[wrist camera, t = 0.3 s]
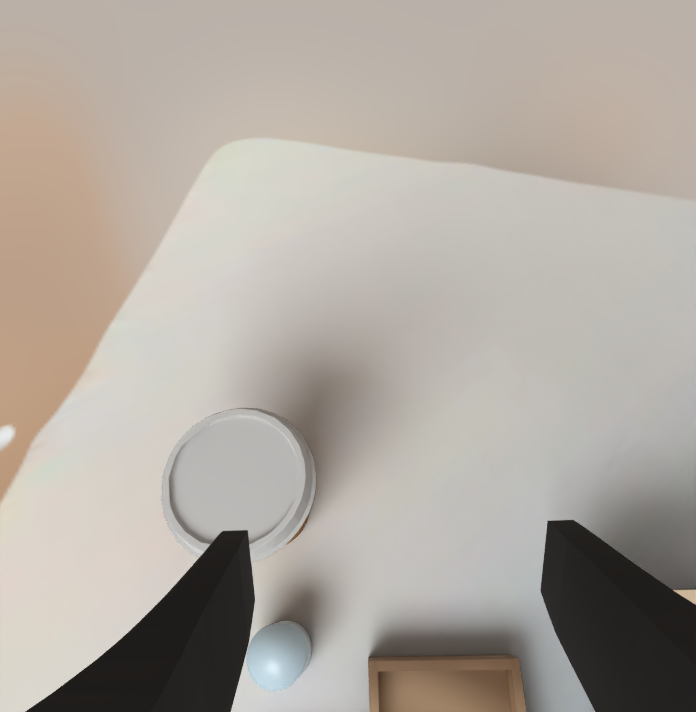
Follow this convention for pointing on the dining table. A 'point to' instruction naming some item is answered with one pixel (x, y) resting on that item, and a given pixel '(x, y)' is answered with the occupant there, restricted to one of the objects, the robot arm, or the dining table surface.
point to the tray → (446, 684)
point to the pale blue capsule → (278, 655)
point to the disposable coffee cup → (239, 482)
